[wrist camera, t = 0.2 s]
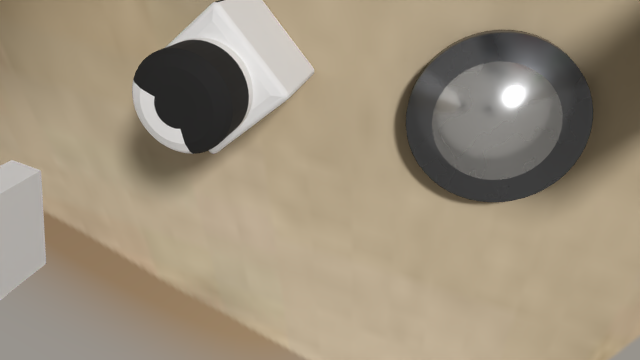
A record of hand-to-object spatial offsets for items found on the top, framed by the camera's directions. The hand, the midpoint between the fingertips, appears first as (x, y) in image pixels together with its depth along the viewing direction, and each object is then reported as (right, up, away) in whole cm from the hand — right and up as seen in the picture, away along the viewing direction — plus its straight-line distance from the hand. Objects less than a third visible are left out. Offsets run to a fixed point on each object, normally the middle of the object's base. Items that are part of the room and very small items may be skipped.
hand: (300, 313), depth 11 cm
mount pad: (+13, +7, +25) cm, 29 cm away
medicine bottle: (-5, +12, +27) cm, 30 cm away
